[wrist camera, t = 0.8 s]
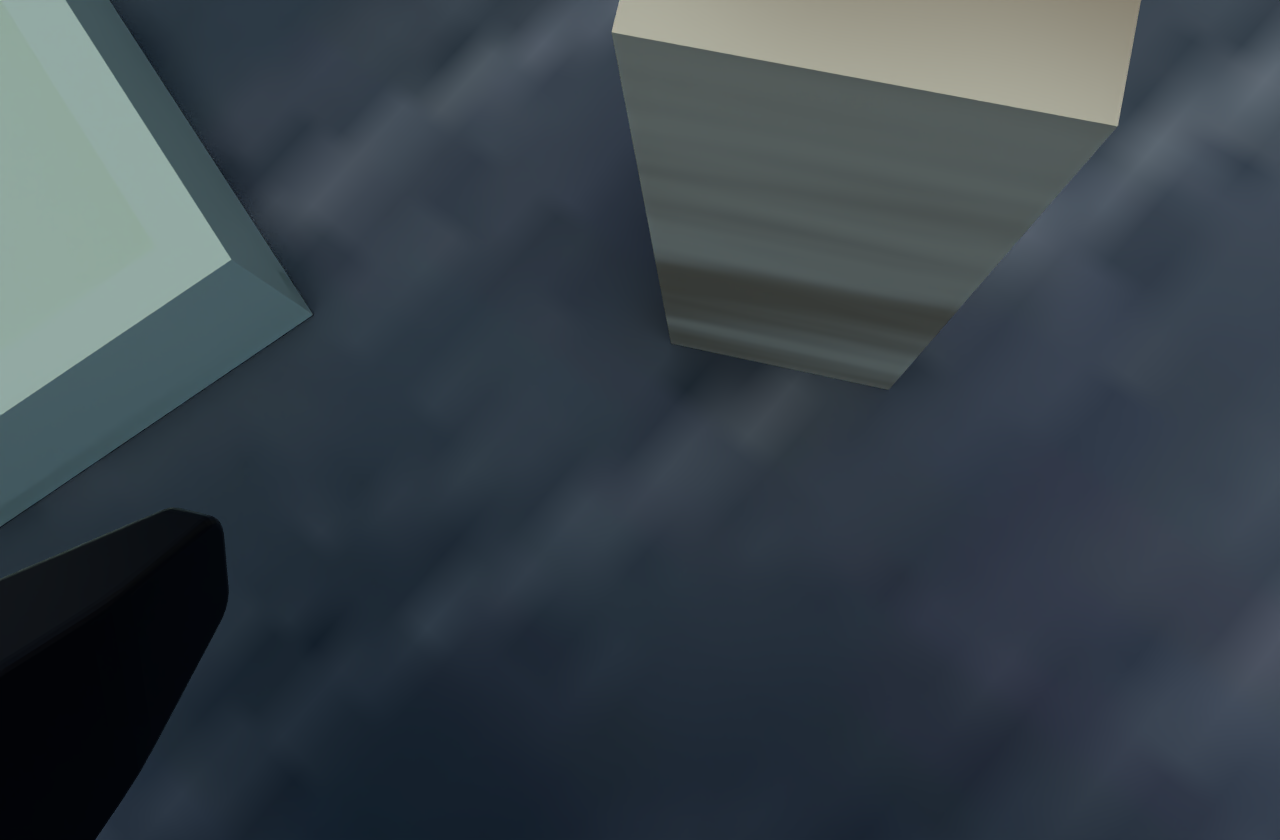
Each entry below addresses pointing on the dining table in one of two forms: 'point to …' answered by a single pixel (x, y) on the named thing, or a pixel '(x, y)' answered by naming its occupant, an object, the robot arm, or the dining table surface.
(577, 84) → the dining table surface
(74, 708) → the robot arm
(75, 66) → the box
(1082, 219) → the dining table surface
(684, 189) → the birch post
